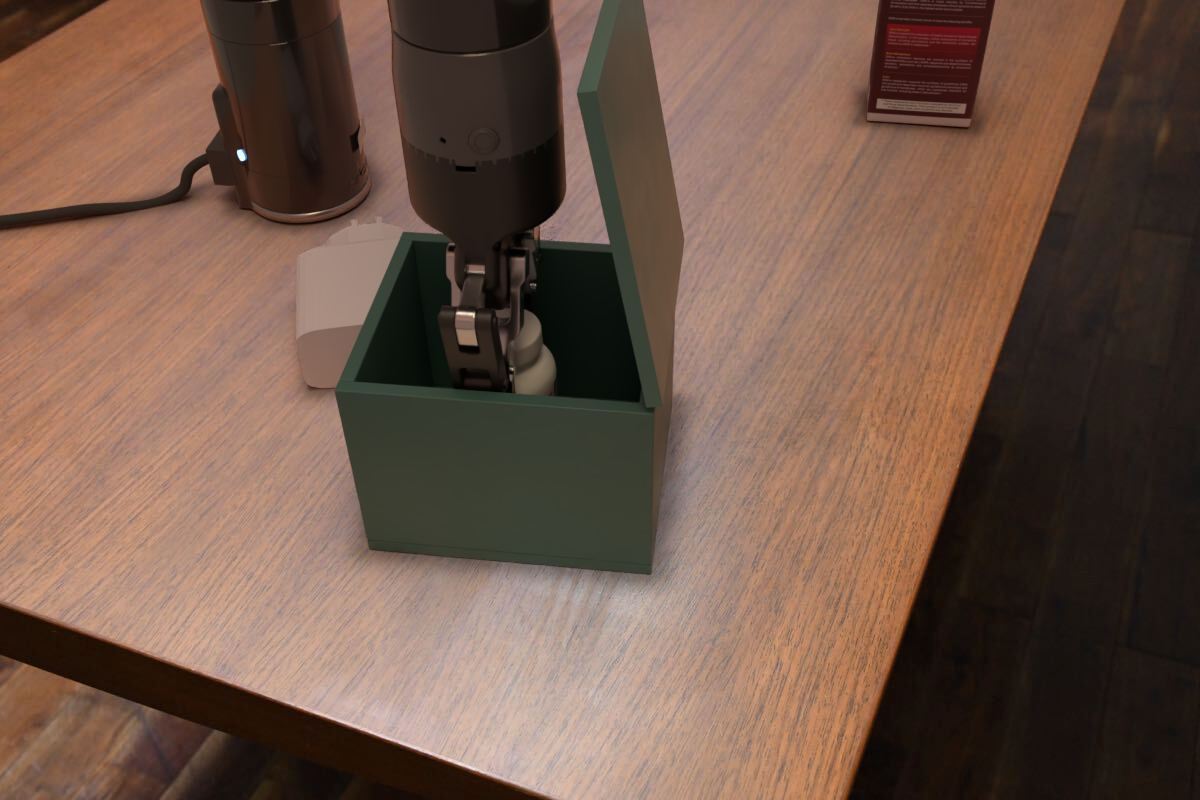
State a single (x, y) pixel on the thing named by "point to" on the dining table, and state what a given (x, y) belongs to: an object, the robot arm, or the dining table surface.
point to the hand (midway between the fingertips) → (506, 387)
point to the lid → (634, 182)
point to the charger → (338, 296)
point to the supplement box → (927, 60)
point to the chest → (505, 425)
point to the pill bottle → (532, 359)
